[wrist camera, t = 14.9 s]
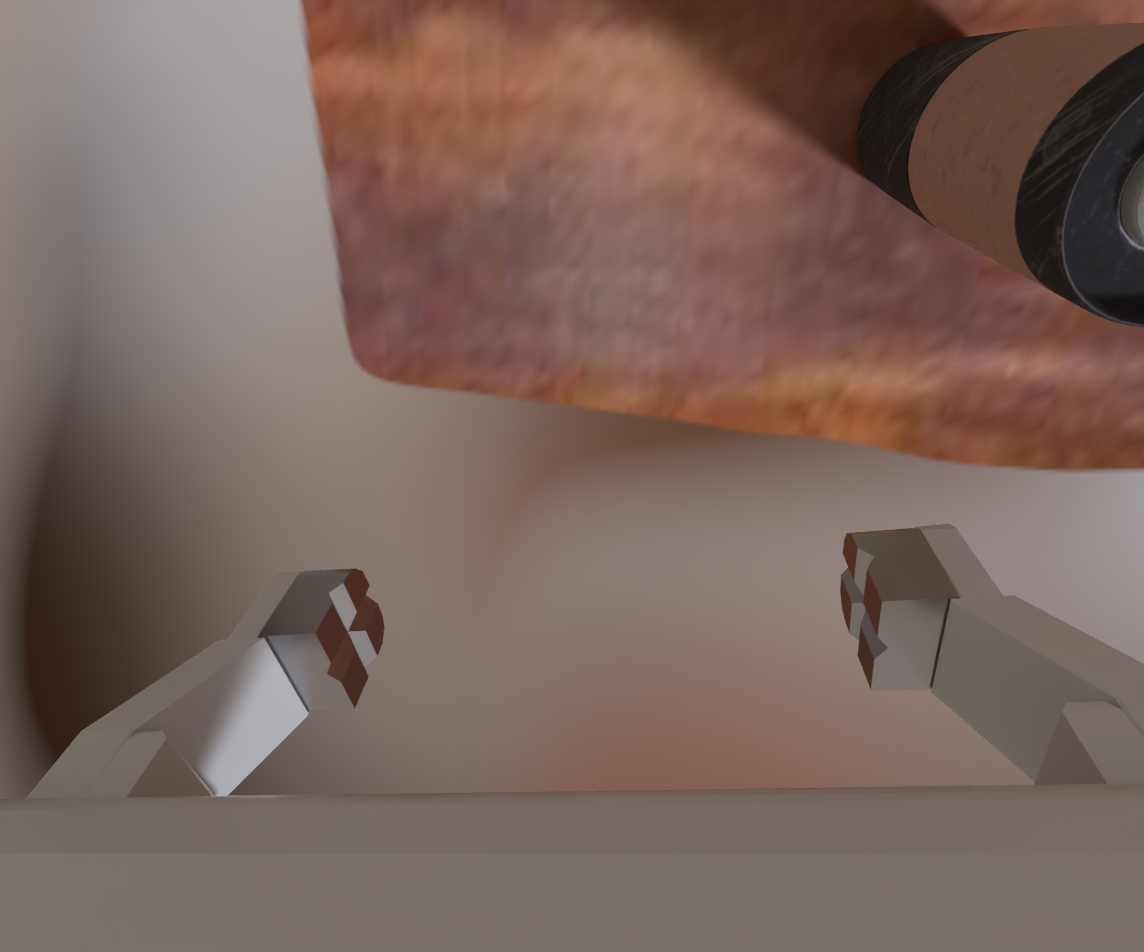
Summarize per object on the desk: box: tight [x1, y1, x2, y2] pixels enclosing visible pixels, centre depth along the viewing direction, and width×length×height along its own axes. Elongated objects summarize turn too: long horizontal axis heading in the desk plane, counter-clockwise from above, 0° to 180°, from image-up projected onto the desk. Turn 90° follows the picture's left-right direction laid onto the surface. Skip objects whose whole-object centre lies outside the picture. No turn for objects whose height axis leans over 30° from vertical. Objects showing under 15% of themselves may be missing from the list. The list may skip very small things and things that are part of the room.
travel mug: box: [857, 23, 1144, 327], centre depth 25 cm, size 8×8×20 cm
